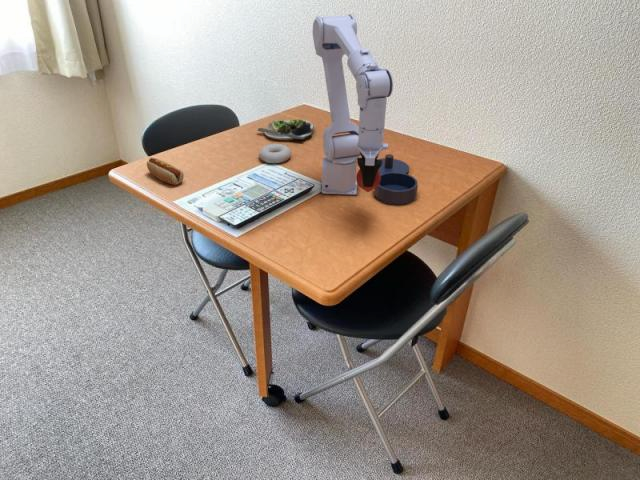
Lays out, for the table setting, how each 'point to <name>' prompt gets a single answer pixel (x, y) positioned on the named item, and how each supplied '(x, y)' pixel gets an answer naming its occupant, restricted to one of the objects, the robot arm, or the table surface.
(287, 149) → the donut
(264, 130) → the salad plate
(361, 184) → the onion
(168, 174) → the food
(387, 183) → the pot
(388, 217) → the table surface
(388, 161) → the lid
